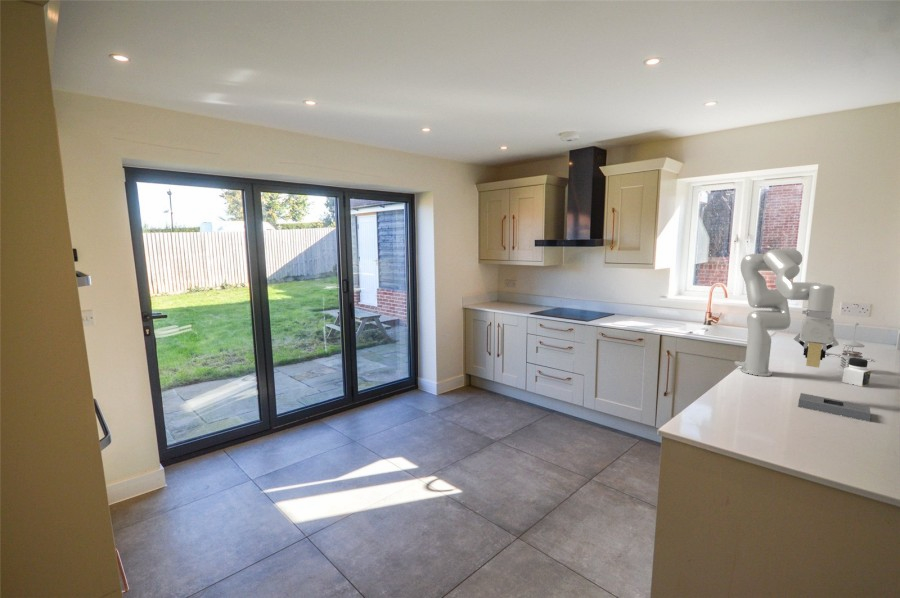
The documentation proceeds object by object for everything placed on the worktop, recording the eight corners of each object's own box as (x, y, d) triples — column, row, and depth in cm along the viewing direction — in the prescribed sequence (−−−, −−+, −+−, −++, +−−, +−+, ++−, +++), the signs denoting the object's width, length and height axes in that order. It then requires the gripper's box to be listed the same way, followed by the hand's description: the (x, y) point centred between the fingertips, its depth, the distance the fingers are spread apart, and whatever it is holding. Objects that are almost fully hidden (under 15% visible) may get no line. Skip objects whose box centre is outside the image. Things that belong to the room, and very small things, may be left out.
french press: (842, 372, 208) (848, 323, 205) (831, 366, 219) (837, 319, 216) (867, 374, 205) (874, 325, 201) (855, 368, 215) (861, 321, 212)
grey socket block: (798, 406, 163) (798, 399, 163) (800, 399, 170) (800, 392, 170) (869, 421, 150) (870, 413, 149) (868, 413, 157) (869, 406, 156)
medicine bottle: (862, 387, 186) (865, 361, 185) (841, 382, 193) (845, 357, 191) (868, 384, 190) (872, 359, 188) (848, 380, 196) (851, 355, 194)
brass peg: (806, 365, 171) (808, 342, 169) (806, 363, 173) (809, 340, 172) (819, 367, 168) (821, 343, 167) (819, 365, 171) (822, 342, 169)
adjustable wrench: (873, 361, 229) (874, 358, 229) (873, 364, 225) (873, 360, 225) (814, 352, 248) (814, 349, 247) (812, 354, 243) (813, 351, 243)
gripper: (791, 313, 171) (786, 356, 173) (847, 318, 160) (841, 364, 162) (793, 311, 176) (788, 353, 179) (847, 316, 165) (841, 360, 167)
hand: (813, 357), depth 170 cm, fingers closed on brass peg, 4 cm apart
